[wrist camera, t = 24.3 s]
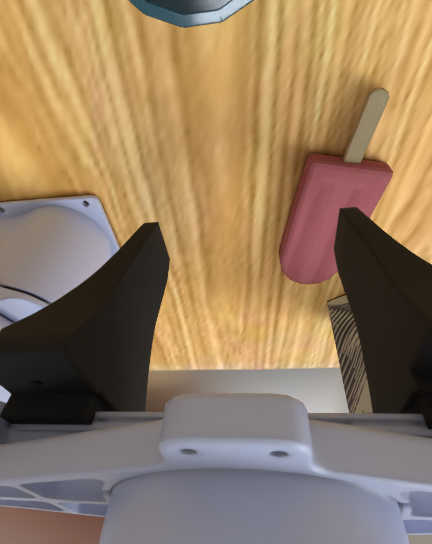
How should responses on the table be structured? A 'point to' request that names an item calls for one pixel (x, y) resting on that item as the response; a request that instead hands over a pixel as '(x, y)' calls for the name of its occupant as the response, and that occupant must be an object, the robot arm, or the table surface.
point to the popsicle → (333, 198)
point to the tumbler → (190, 10)
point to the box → (350, 356)
